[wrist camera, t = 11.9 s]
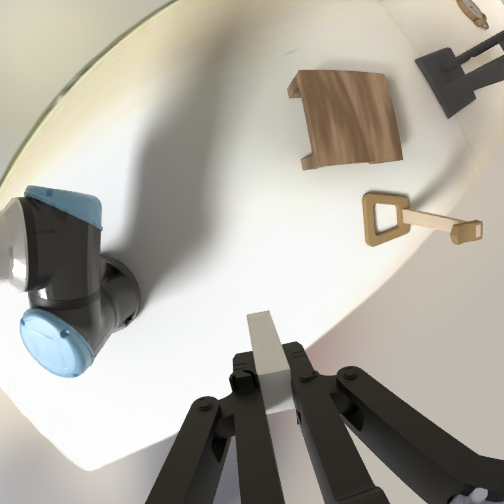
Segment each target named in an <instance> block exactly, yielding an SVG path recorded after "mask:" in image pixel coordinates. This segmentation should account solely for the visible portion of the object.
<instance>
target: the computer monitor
mask: <svg viewBox="0 0 504 504" xmlns="http://www.w3.org/2000/svg"><path fill="white" fill-rule="evenodd" d="M497 44H500V46H501V47H502V49H503V51H504V30H503V31H502V32H500V33H498V34H496V35H494V36H492V37H491V38H489V39H487V40H485V41H484V42H482V43H480V44H478V45H477V46H475V47H473V48H471V49H470V50H468V51H466V52H464V53H463V54H461V55H459V56H457V57H455V55H454V53H453V52H452V50H451V48H448V47H447V48H444V49H441V50H439V51H436V52H433V53H431V54H428V55H426V56H423V57H421V58H418V59H416V60H415V62H416V64H417V65H418V67H419V68H420V70H421V71H422V73H423V74H424V76H425V78H426V79H427V81H428V83H429V84H430V86H431V88H432V89H433V91H434V93H435V95H436V96H437V98H438V100H439V102H440V104H441V106H442V107H443V109H444V111H445V113H446V115H447V117H448V119H449V118H450V117H452V116H453V115H454V114H456V113H457V112H459V111H460V110H461V109H463V108H464V107H465V106H467V105H468V104H470V103H471V102H472V101H474V100H475V99H476V97H475V94H474V92H473V91H474V90H477V89H479V88H482V87H485V86H488V85H491V84H494V83H497V82H500V81H503V80H504V55H502V56H500V57H498V58H496V59H494V60H493V61H491V62H489V63H487V64H485V65H483V66H481V67H479V68H477V69H475V70H474V71H472V72H470V73H468V74H466V75H465V73H464V72H463V70H462V68H461V66H460V65H461V64H463V63H465V62H467V61H468V60H469V59H470V58H471V57H475V56H477V55H479V54H481V53H483V52H484V51H486V50H488V49H490V48H491V47H493V46H495V45H497Z"/></svg>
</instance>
